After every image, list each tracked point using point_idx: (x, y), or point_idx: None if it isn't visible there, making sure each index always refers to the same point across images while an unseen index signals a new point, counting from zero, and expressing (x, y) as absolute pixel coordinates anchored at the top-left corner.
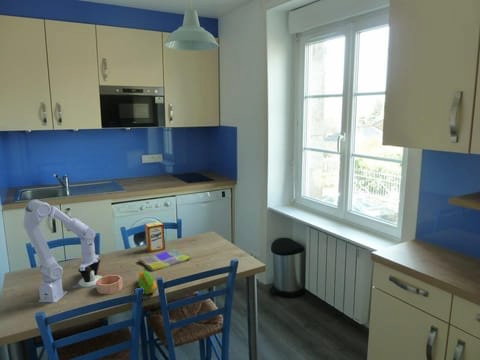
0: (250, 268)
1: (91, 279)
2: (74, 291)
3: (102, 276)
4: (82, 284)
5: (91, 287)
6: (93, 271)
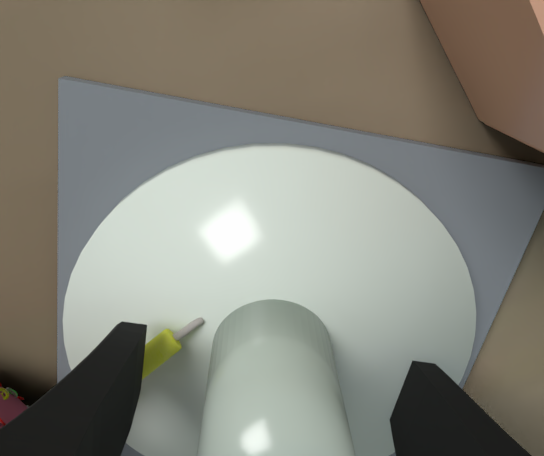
0: None
1: (331, 356)
2: None
3: (62, 208)
4: None
5: (503, 274)
6: (272, 448)
